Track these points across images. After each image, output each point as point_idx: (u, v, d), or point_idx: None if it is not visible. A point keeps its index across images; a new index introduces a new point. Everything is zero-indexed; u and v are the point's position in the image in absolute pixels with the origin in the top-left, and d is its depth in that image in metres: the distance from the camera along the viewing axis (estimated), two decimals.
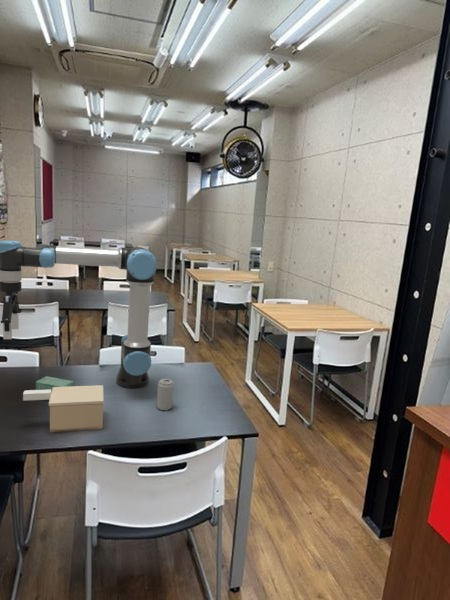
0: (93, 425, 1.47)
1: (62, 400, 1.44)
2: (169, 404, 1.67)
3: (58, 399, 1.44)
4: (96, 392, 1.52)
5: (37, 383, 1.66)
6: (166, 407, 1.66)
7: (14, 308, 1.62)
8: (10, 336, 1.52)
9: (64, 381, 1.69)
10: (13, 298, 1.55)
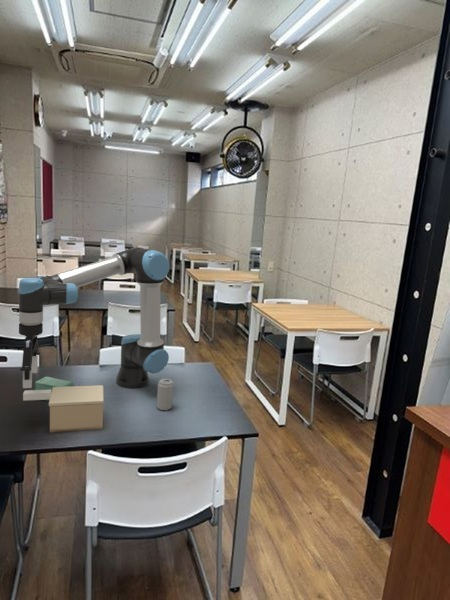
0: (93, 425, 1.47)
1: (62, 400, 1.44)
2: (169, 404, 1.67)
3: (58, 399, 1.44)
4: (96, 392, 1.52)
5: (36, 383, 1.66)
6: (166, 407, 1.66)
7: (33, 350, 1.47)
8: (30, 384, 1.37)
9: (63, 382, 1.68)
10: (34, 342, 1.40)
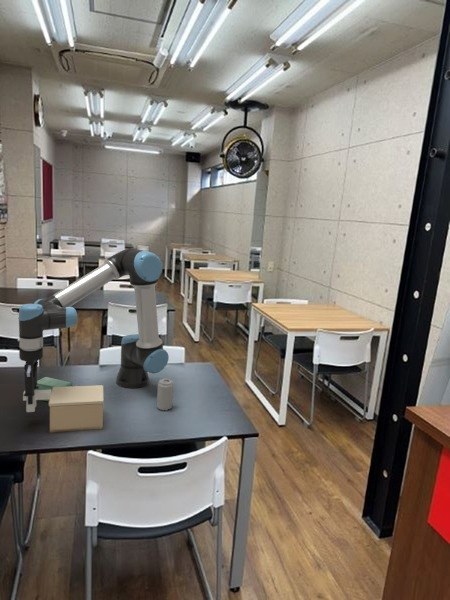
0: (93, 425, 1.47)
1: (62, 400, 1.44)
2: (169, 404, 1.67)
3: (58, 399, 1.44)
4: (96, 392, 1.52)
5: None
6: (166, 407, 1.66)
7: None
8: (33, 408, 1.44)
9: (62, 382, 1.68)
10: (34, 367, 1.42)
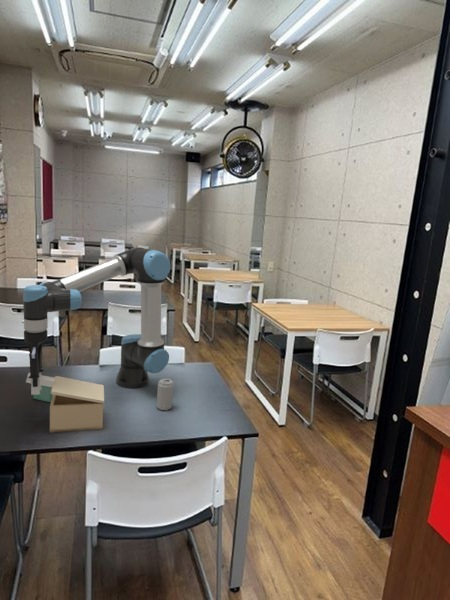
0: (93, 425, 1.47)
1: (64, 391, 1.43)
2: (169, 404, 1.67)
3: (60, 389, 1.44)
4: (97, 391, 1.52)
5: None
6: (166, 407, 1.66)
7: None
8: (38, 391, 1.43)
9: None
10: (39, 349, 1.41)
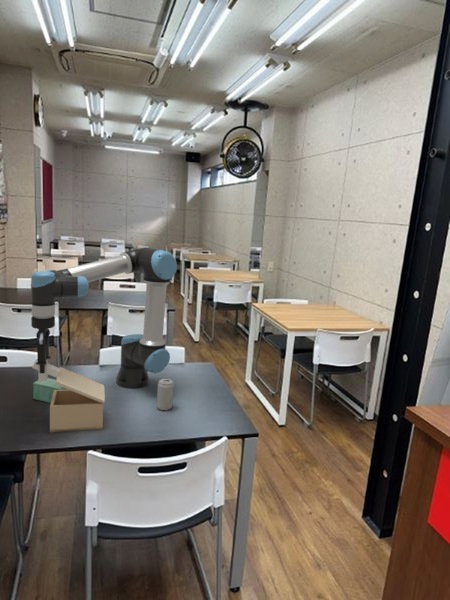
0: (93, 425, 1.47)
1: (68, 384, 1.43)
2: (169, 404, 1.67)
3: (64, 381, 1.44)
4: (98, 390, 1.52)
5: (34, 384, 1.65)
6: (166, 407, 1.66)
7: None
8: (45, 378, 1.43)
9: None
10: (46, 336, 1.40)
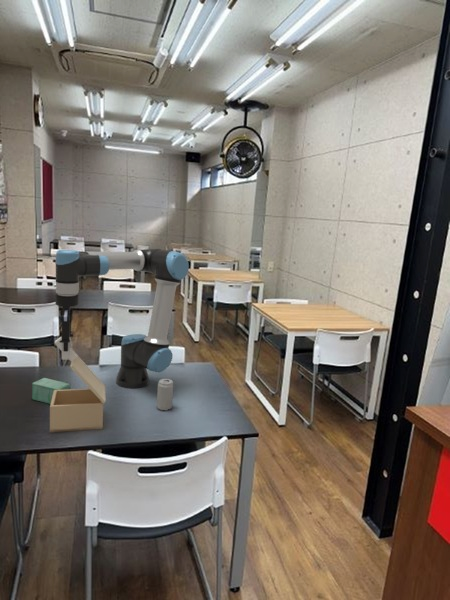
0: (93, 425, 1.47)
1: (80, 372, 1.44)
2: (169, 404, 1.67)
3: (78, 368, 1.44)
4: (101, 388, 1.53)
5: (33, 384, 1.64)
6: (166, 407, 1.66)
7: None
8: (68, 356, 1.43)
9: (60, 383, 1.66)
10: (70, 313, 1.41)
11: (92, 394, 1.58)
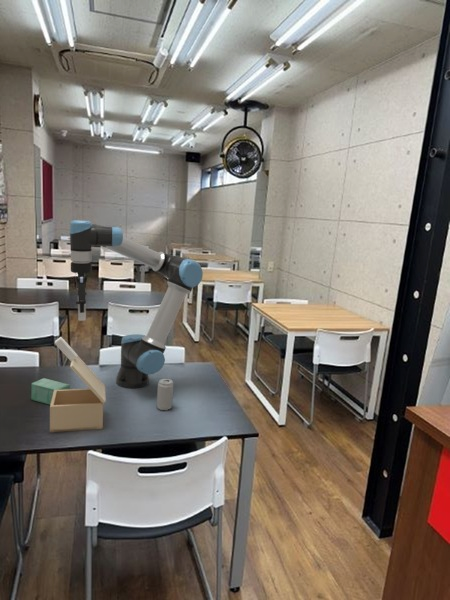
0: (93, 425, 1.47)
1: (80, 372, 1.44)
2: (169, 404, 1.67)
3: (78, 368, 1.44)
4: (101, 388, 1.53)
5: (32, 385, 1.64)
6: (166, 407, 1.66)
7: None
8: (84, 317, 1.51)
9: (59, 384, 1.66)
10: (85, 279, 1.52)
11: (92, 394, 1.58)
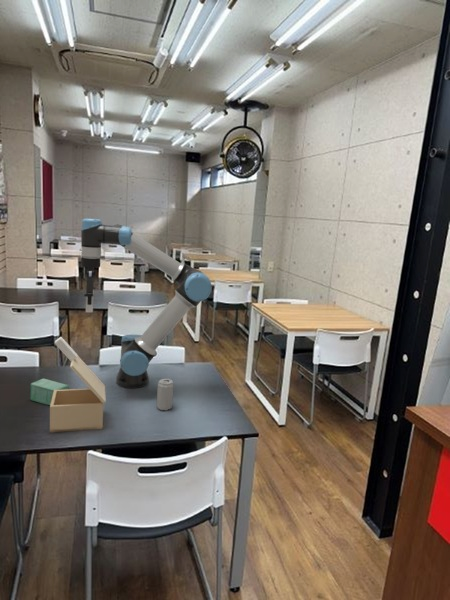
0: (93, 425, 1.47)
1: (80, 372, 1.44)
2: (169, 404, 1.67)
3: (78, 368, 1.44)
4: (101, 388, 1.53)
5: (32, 385, 1.64)
6: (166, 407, 1.66)
7: None
8: (92, 309, 1.60)
9: (58, 384, 1.65)
10: (93, 273, 1.63)
11: (92, 394, 1.58)
